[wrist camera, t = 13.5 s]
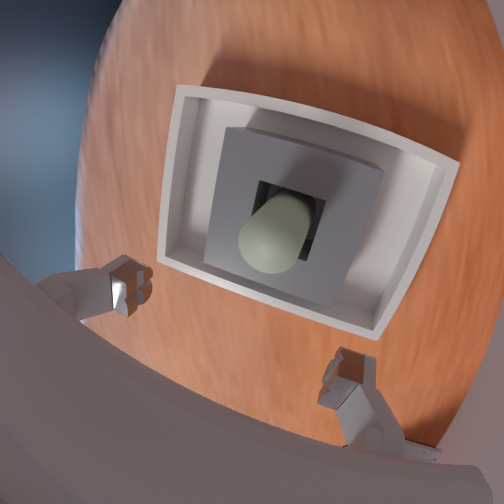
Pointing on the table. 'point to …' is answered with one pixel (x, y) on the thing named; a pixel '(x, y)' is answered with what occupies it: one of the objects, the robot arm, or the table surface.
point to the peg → (277, 231)
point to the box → (308, 182)
